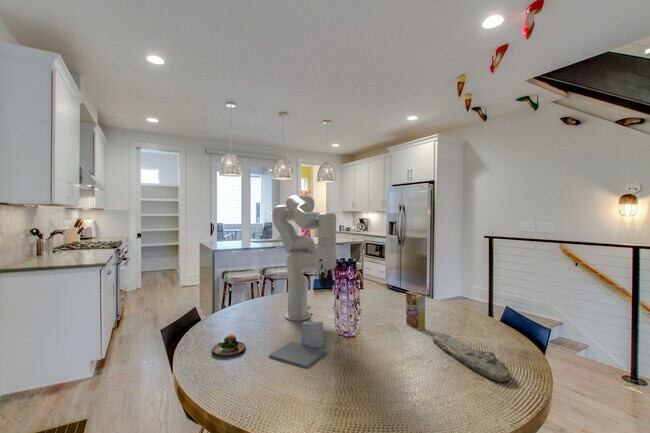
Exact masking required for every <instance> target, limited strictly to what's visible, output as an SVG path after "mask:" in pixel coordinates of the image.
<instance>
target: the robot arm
mask: <svg viewBox="0 0 650 433" xmlns="http://www.w3.org/2000/svg"><path fill="white" fill-rule="evenodd" d="M315 206H316V204H315V200H314V199H313V197H312V196H310V195H295V194H294V195H291V196H289V197H287V199H286V201H285V204H280V205H276V206H274V208H273V210H272V221H273V224H274V226H275V228H276V230H277V231H278V233H279V235H280V239H281V242H282V245H283V248H284V251H285V253H287V255H288V256H287V257H286V269H287V282H288V283H287V312H286V313H285V314H284V319H286V320H289V321H295V322H300V321H301V322H302V321H307V320H308V319H310V318H311V314H310V312H308V311H309V310H311V308H312V306H311V305H310V304H308V280H307V277H306V276H305V274H304V273H307V272H309V273H310V272H317V273H318V274H319V279H320V280H319V286H320V288H328V286H333V285H334V275H335V274H334V273H335V269H336V266H337V252H336V251H337V250H336V246H337V215H336V213H333V212H318V211H316V212H315V211H313V210H314V209H315ZM291 221H292V222H295V224H296V225H297V226H298V227H299V228H300V229H303V230H317V246H316V244H315V241H314V239H313V238H312V236H309V235H299V234H298V233H297V230H296V228H295V227H294V225H292V223H290V222H291Z"/></svg>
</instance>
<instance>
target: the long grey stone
mask: <svg viewBox="0 0 650 433" xmlns="http://www.w3.org/2000/svg"><path fill="white" fill-rule="evenodd" d="M432 342H433V343H435V344H436V346H438V347H439V348H440V349H442V350H443V351H444V352H446V353H448V354H449V355H450V356H451V357H452V358H454V359H455V360H458V361H459V362H461V363H463V365H465V366H466V367H468V368H469V369H472V370H473V371H475V372H476V373H478V374H479V375H480V376H482V377H484V376H485V377H487V378H489V379H490V380H494V381H497V382H499V383H503V382H508V381H509V380H510V379H511V373H510V369H509V368H508V367H507V366H506V365H505V363H504V362H502V361H501V360H500V359H498V358H497V357H496V354H495V353H494V352H493V351H483V350H478V349H477V350H476V349H473V348H472V347H470V346H468V345H466V344H464V343H462V342H460V341H458V340H457V339H456V338H453V337H452V336H450V335H448V334H444V333H436V334H434V335H433V336H432Z"/></svg>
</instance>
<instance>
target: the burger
mask: <svg viewBox="0 0 650 433" xmlns="http://www.w3.org/2000/svg"><path fill="white" fill-rule="evenodd" d="M232 330H233V329H231V331H230V332H232ZM246 349H247V348H246V345H245V343H244V342H242V341H239V340H237V337H236V335H235V334H232V333H230V334H228V335H226V336H225V337H224V339H223V342H221V341H219V342H217V344H216V345H214V346H213V347H212V349H211V354H215V355H219V356H233V355H236V354H238V353H241V352H242V354H245V352H246Z"/></svg>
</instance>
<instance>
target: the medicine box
mask: <svg viewBox="0 0 650 433" xmlns="http://www.w3.org/2000/svg"><path fill="white" fill-rule="evenodd" d="M301 345H304V346H308V347H312V348H316V349H319V348H320V349H321V348H323V345H324V322H323V321H307V320H303V323H302V325H301Z"/></svg>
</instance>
